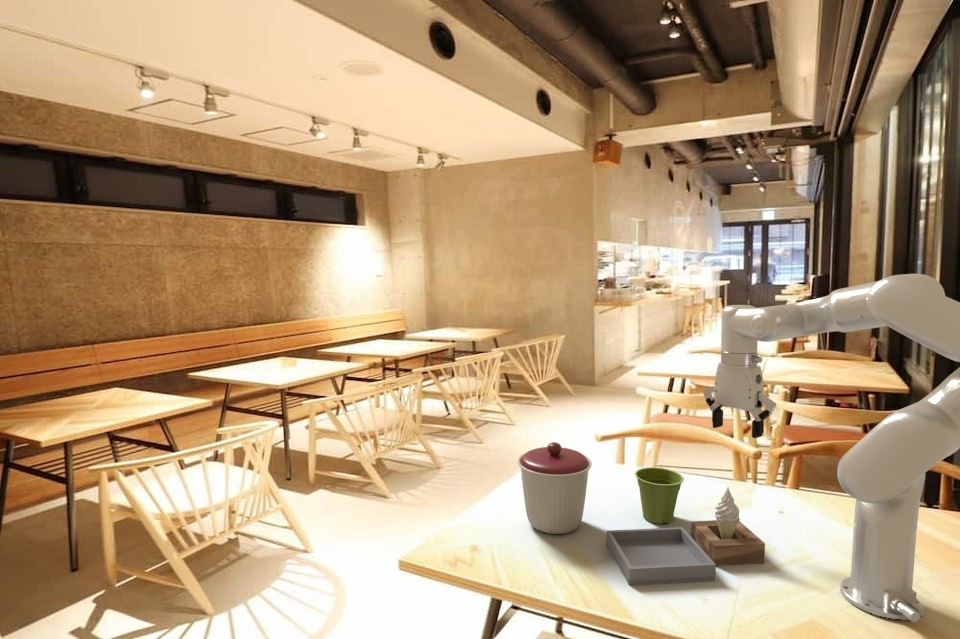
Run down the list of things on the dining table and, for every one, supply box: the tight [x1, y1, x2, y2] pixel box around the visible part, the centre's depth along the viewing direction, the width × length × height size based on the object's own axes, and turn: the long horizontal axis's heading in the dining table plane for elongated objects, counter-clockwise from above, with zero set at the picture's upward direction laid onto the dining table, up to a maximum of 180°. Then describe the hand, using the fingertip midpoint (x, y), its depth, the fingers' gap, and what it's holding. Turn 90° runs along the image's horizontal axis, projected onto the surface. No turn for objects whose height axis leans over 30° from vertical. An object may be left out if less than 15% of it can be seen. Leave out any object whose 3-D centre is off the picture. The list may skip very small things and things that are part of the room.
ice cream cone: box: [714, 487, 740, 539], centre depth 124 cm, size 5×5×15 cm
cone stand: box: [690, 519, 766, 567], centre depth 125 cm, size 11×11×4 cm
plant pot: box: [634, 466, 685, 525], centre depth 140 cm, size 12×12×11 cm
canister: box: [517, 442, 592, 535], centre depth 137 cm, size 18×18×21 cm
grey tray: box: [605, 526, 717, 586], centre depth 121 cm, size 16×18×4 cm
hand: (736, 431), depth 128 cm, fingers open, 9 cm apart
